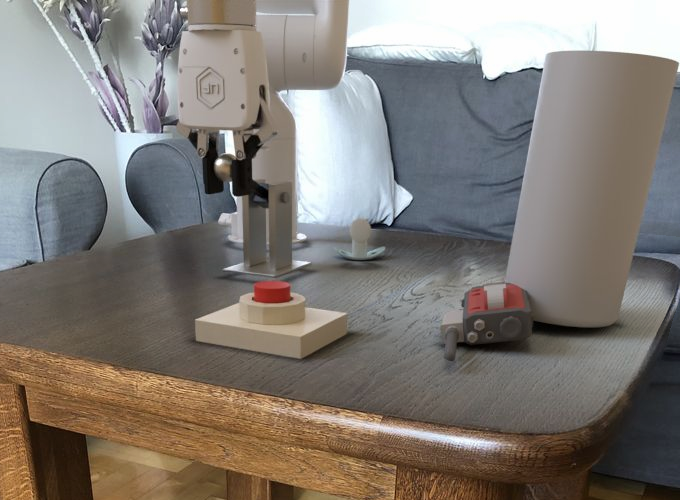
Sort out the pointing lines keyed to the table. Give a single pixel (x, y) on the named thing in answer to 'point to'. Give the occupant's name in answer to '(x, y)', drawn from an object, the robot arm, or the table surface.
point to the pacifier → (360, 242)
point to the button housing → (272, 327)
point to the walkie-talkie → (488, 317)
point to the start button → (272, 292)
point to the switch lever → (225, 174)
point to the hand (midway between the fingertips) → (228, 192)
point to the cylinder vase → (587, 182)
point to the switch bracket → (278, 234)
